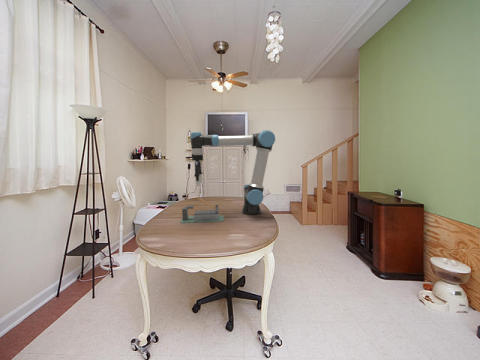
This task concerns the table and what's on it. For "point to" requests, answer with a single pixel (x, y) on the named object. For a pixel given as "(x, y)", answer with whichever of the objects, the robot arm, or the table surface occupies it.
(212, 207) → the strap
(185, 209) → the clip
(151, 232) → the table surface
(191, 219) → the board
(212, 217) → the heatsink
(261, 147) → the robot arm
